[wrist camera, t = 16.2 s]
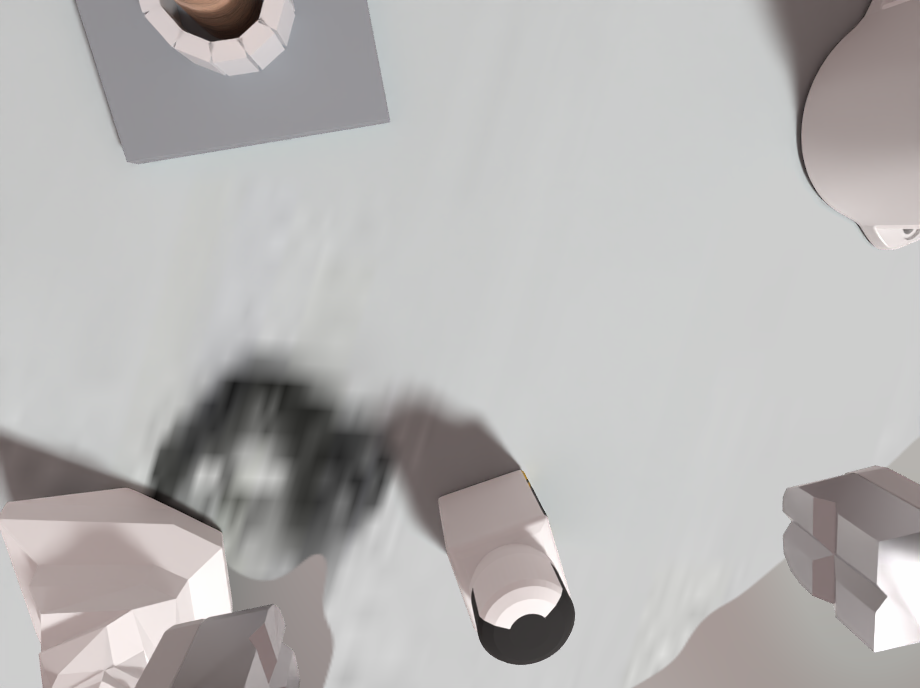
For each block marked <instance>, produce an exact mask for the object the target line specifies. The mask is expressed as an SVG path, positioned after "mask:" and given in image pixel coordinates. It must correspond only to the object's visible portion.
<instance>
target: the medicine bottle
mask: <svg viewBox="0 0 920 688" xmlns="http://www.w3.org/2000/svg"><path fill="white" fill-rule="evenodd" d="M438 505H439V511H440V516H441V522H442V528H443V534H444V539H445V545H446V551H447V555H448V558H449V560H450V563H451V566H452V569H453V571H454V574H455V577H456V580H457V583H458V585H459V588H460V591H461V594H462V596H463V599H464V602H465V605H466V607H467V610H468V613H469V616H470V619H471V621H472V624H473V627H474V629H475V630H476V631H477V632H478V636H479V640H480V642H481V644H482V646H483V647H484V648H485V650H486V651H487V652H488V653H489V654H490V655H492V656H493V657H495V658H497V659H498V660H501V661H504V662H506V663H510V664H516V665H526V664H532V663H536V662H539V661H542V660H544V659H546V658H548V657H550V656H551V655H553V654H554V653H555V652H557V651H558V650H559V649H560V648H561V647H562V646H563V645H564V643H565V642H566V640H567V639H568V637H569V635H570V633H571V631H572V628H573V625H574V621H575V611H574V606H573V603H572V600H571V598H570V592H569V588H568V585H567V581H566V578H565V575H564V571H563V568H562V564H561V561H560V557H559V554H558V551H557V547H556V544H555V540H554V537H553V533H552V530H551V527H550V523H549V520H548V517H547V515H546V513H545V511H544V509H543V508H542V506H541V504H540V502H539V500H538V498H537V496H536V494H535V492H534V490H533V488H532V486H531V485H530V483H529V481H528V479H527V477H526V475H525V473H524V472H523V471H522V470H517V471H514V472H511V473H508V474H505V475H502V476H499V477H496V478H493V479H491V480H488V481H485V482H482V483H479V484H476V485H473V486H470V487H467V488H464V489H461V490H458V491H456V492H453V493H450V494H447V495H444V496H441V497H439V499H438Z"/></svg>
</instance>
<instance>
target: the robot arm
mask: <svg viewBox="0 0 920 688" xmlns="http://www.w3.org/2000/svg"><path fill="white" fill-rule="evenodd" d="M801 140H802V152H803V158H804V163H805V167H806V170H807V173H808V175H809V178H810V180H811V182H812V184H813V186H814V188H815V189H816V191H817V192H818V194H819V195H820V196H821V197H822V199H823V200H824V201H825V202H826V203H827V204H828V205H829V206H830V207H832V208H833V209H834V210H836V211H837V212H839V213H841V214H842V215H844V216H846V217H848V218H850V219H852V220H853V221H855V222H856V223H857V224H858V225H860V227H861V229H862V230H863V232H864V233H865V235H866V237H867V238H868V239H869V241H870V242H871V243H872V244H873V246H875V247H876V248H877V249H880V250H891V249H898V248H901V247H903V246H906V245H908V244H910V243H913V242H915V241H918V240H920V0H872V2H871V4H870V6H869V8H868V10H867V12H866V14H865V16H864V18H863V19H862V20H861V21H860V23H859V24H858V25H857V26H856V27H855V28H854V29H853V30H852V31H851V32H850V33H848V34H847V35H846V36H845V37H844V38H843V39H842V40H841V41H840V42H839V43H838V44H837V45H836V47H835V48H834V49H833V50H832V51H831V53H830V54H829V55H828V57H827V58H826V60H825V61H824V63H823V64H822V66H821V68H820V69H819V71H818V73H817V75H816V77H815V79H814V81H813V83H812V86H811V88H810V91H809V94H808V97H807V101H806V104H805V109H804V113H803V120H802V132H801ZM903 229H904V231H903ZM783 512H784V513H785V514H786V515H787V516H788V518H789V519H790V520H791V523H790V524H789V526H788V528H787V529H786V531H785V533H784V534H783V547H784V555H785V558H786V560H787V562H788V565H789V567H790V570H791V572H792V573H793V575H794V576H795V577H796V579H797V580H798V581H799V583H800V584H801V585H802V586H803V587H804V588H805V589H806V590H807V591H808V592H809V593H810V594H811V595H812V596H815V597H817V598H820V599H822V600H825V601H827V602H830V603H832V604H834V610H835V616H836V618H837V619H838V620H839V621H841V622H842V623H843V624H844V625H845V626H846V627H847V628H848V629H849V630H850V631H851V632H852V633H854V634H855V635H856V636H857V637H858V638H859V639H860V640H861V641H862V642H864V644H866V645H867V646H868V647H869V648H870V649H871V650H872V651H873V652H877V651H882V650H886V649H891V648H895V647H900V646H904V645H909V644H913V643H918V642H920V484H918V483H916V482H914V481H912V480H910V479H908V478H906V477H904V476H902V475H901V474H899V473H897V472H895V471H893V470H891V469H889V468H886V467H880V466H871V467H868V468H864V469H860V470H856V471H852V472H848V473H845V474H844V475H841V476H837V477H832V478H828V479H824V480H819V481H815V482H811V483H806V484H802V485H798V486H793V487H789V488H787V489H786V491H785V493H784V496H783ZM285 627H286V625H285V622H284V619H283V616H282V614H281V611H280V608H279V607H277V606H276V605H274V604H271V605H267V606H262V607H257V608H252V609H247V610H242V611H237V612H232V613H227V614H222V615H217V616H212V617H208V618H207V619H199V620H194V621H190V622H185V623H181V624H176V625H173V626H172V627H170V628H169V629H167V630H166V631H165V632H164V634H163V636H162V638H161V640H160V641H159V643H158V645H157V647H156V649H155V651H154V652H153V654H152V656H151V658H150V660H149V662H148V664H147V665H146V667H145V669H144V671H143V673H142V675H141V677H140V678H139V680H138V682H137V684H136V686H135V688H300V679H299V672H298V665H297V661H296V658H295V654H294V651H293V649H291V648H290V647H288V646H287V645H285V644H284V643H283V642H282V639H283V635H284V631H285Z"/></svg>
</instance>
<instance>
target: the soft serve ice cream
mask: <svg viewBox="0 0 920 688" xmlns="http://www.w3.org/2000/svg"><path fill="white" fill-rule="evenodd" d="M0 530H1V533H2V536H3V539H4V542H5V545H6V547H7V550H8V553H9V556H10V559H11V562H12V565H13V568H14V570H15V573H16V576H17V579H18V582H19V585H20V588H21V591H22V593H23V596H24V599H25V602H26V605H27V608H28V611H29V614H30V616H31V619H32V622H33V625H34V628H35V631H36V634H37V636H38V639H39V641H40V643H41V653H39V660H40V668H41V676H42V684H43V688H135V686H136V684H137V682H138V680H139V678H140V677H141V675H142V673H143V671H144V669H145V667H146V665H147V664H148V662H149V660H150V658H151V656H152V654H153V652H154V651H155V649H156V647H157V645H158V643H159V641H160V640H161V638H162V636H163V634H164V632H165V631H166V630H167V629H169V628H170V627H172V626H173V625H176V624H181V623H185V622H190V621H194V620H199V619H207V618H208V617H212V616H217V615H222V614H227V613H232V597H231V590H230V583H229V576H228V569H227V562H226V555H225V548H224V541H223V535H222V532H220V531H218V530H216V529H214V528H212V527H210V526H208V525H206V524H204V523H202V522H200V521H198V520H196V519H194V518H192V517H190V516H188V515H186V514H184V513H182V512H180V511H177V510H175V509H173V508H171V507H169V506H167V505H165V504H163V503H161V502H159V501H156V500H154V499H152V498H150V497H148V496H146V495H144V494H142V493H140V492H137V491H135V490H132V489H129V488H127V487H126V488H118V489H110V490H102V491H94V492H85V493H77V494H69V495H61V496H53V497H44V498H36V499H28V500H20V501H12V502H7V503H6V505H5V506H4V508H3V509H2V511H1V513H0Z"/></svg>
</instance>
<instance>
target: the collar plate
mask: <svg viewBox="0 0 920 688" xmlns="http://www.w3.org/2000/svg"><path fill="white" fill-rule="evenodd" d="M75 1H76V4H77V7H78V10H79V13H80V16H81V19H82V23H83V26H84V29H85V32H86V35H87V38H88V41H89V44H90V48H91V51H92V54H93V57H94V60H95V63H96V66H97V70H98V73H99V76H100V79H101V82H102V85H103V88H104V91H105V95H106V98H107V101H108V104H109V107H110V110H111V113H112V116H113V120H114V123H115V126H116V129H117V132H118V135H119V138H120V142H121V145H122V148H123V151H124V154H125V157H126V160H127V162H130V163H136V164H141V163H147V162H153V161H159V160H165V159H171V158H177V157H183V156H189V155H195V154H201V153H207V152H213V151H219V150H225V149H231V148H238V147H244V146H250V145H256V144H262V143H268V142H274V141H280V140H286V139H292V138H298V137H304V136H310V135H316V134H322V133H328V132H334V131H340V130H346V129H352V128H358V127H364V126H370V125H376V124H382V123H388V122H390V118H389V112H388V107H387V102H386V97H385V92H384V87H383V81H382V76H381V71H380V66H379V61H378V55H377V50H376V45H375V40H374V35H373V30H372V24H371V19H370V14H369V9H368V4H367V0H262V9H261V13H260V17H259V20H258V21H257V22H255V23H254V24H253V25H252V26H251V27H250V28H249V29H248V30H247V31H246V32H245V33H243V34H242V35H241V36H240V37H239V38H235V39H228V40H221V39H218V38H216V37H214V36H212V35H211V34H209V33H208V32H207V31H205V30H204V29H203V28H202V27H201V26H200V25H199V24H198V23H197V22H196V21H195V20H194V19H193V18H192V17H191V16H190V15H189V14H187V13H186V12H185V11H184V10H183V9H182V8H181V7H180V6H179V5H178V4H177V3H176V2H175V1H174V0H75Z"/></svg>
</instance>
